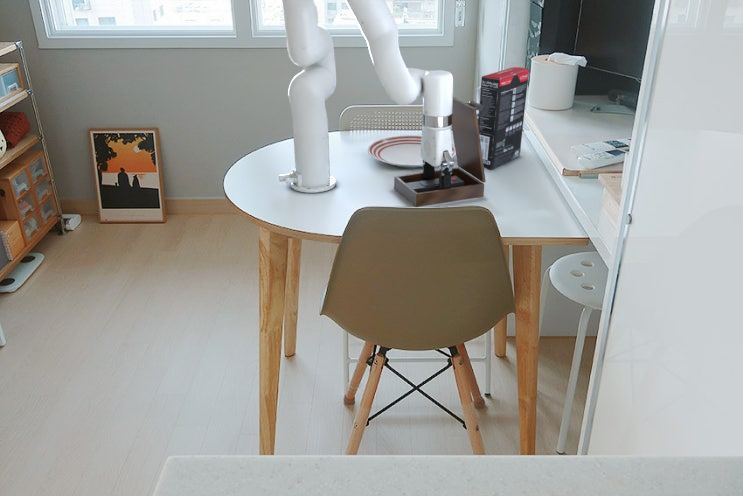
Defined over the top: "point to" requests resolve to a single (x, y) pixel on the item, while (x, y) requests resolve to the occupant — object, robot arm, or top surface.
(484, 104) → the graphics card box
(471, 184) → the box
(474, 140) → the lid
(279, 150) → the top surface
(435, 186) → the block
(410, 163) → the dinner plate
